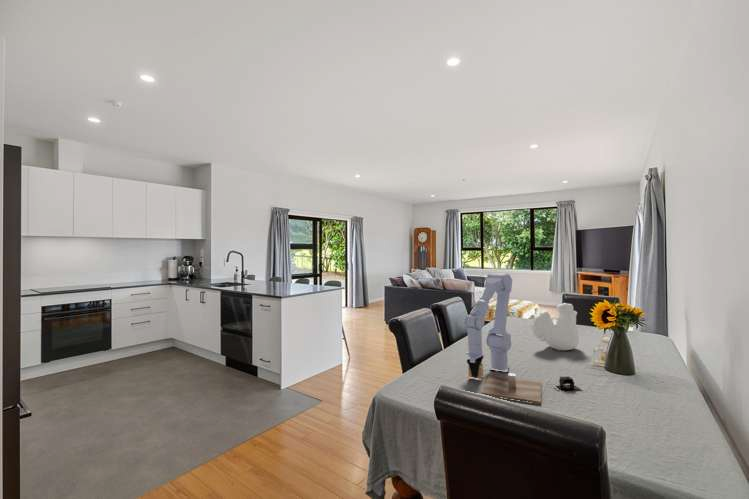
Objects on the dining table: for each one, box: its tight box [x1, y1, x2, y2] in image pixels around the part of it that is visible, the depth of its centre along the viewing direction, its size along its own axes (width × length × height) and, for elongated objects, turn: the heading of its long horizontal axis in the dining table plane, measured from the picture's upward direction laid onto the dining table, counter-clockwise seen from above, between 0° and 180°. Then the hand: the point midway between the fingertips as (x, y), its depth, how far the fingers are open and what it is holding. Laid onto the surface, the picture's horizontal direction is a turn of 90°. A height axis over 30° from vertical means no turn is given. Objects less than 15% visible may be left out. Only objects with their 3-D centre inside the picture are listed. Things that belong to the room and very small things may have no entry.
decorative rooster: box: [530, 302, 580, 351], centre depth 182 cm, size 25×16×25 cm, turn 81°
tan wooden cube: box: [467, 363, 484, 380], centre depth 144 cm, size 5×5×6 cm
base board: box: [481, 374, 542, 406], centre depth 131 cm, size 20×20×1 cm
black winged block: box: [556, 376, 584, 392], centre depth 131 cm, size 12×7×5 cm, turn 85°
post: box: [507, 372, 517, 388], centre depth 131 cm, size 3×3×5 cm
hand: (476, 374), depth 144 cm, fingers closed on tan wooden cube, 5 cm apart
